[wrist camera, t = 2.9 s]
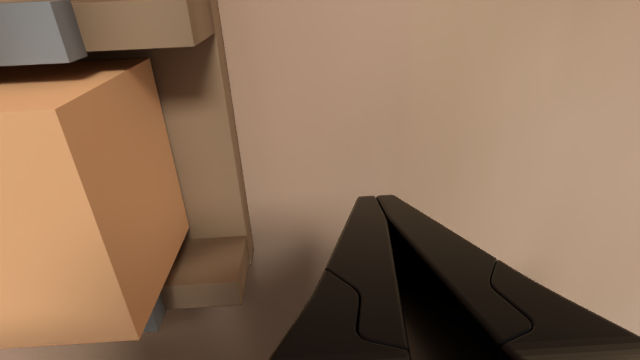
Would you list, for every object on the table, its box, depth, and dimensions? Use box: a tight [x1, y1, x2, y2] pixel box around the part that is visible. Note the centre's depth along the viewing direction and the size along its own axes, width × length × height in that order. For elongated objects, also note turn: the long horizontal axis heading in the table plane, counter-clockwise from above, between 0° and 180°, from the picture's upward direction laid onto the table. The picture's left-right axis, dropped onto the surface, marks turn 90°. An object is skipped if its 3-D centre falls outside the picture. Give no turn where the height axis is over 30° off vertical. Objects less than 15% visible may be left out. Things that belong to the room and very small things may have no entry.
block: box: [0, 58, 189, 349], centre depth 11 cm, size 6×6×5 cm
